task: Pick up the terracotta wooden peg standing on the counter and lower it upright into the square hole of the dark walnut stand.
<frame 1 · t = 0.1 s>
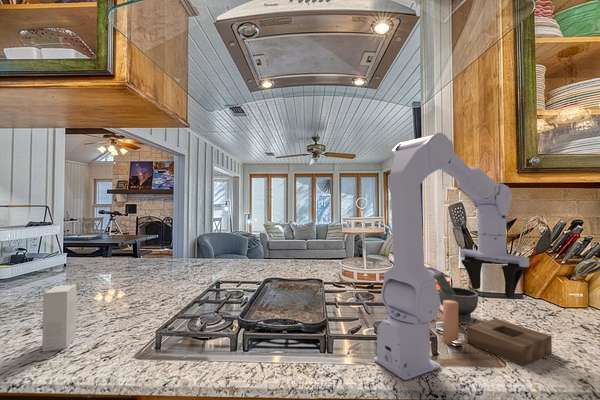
hand: (492, 292, 70), 10 cm above the worktop, tool pointing down, fingers open, 7 cm apart
walnut stand: (508, 347, 64), on the worktop
mortar and pestle: (455, 317, 82), on the worktop
peg: (450, 343, 66), on the worktop
skincare box: (59, 345, 64), on the worktop
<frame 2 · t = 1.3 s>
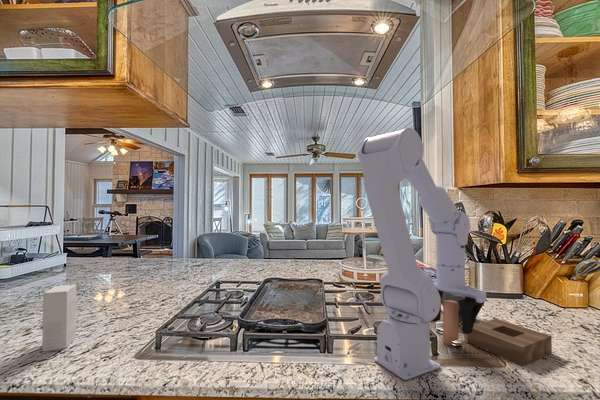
hand: (450, 326, 66), 4 cm above the worktop, tool pointing down, fingers open, 7 cm apart
nothing on the worktop moved.
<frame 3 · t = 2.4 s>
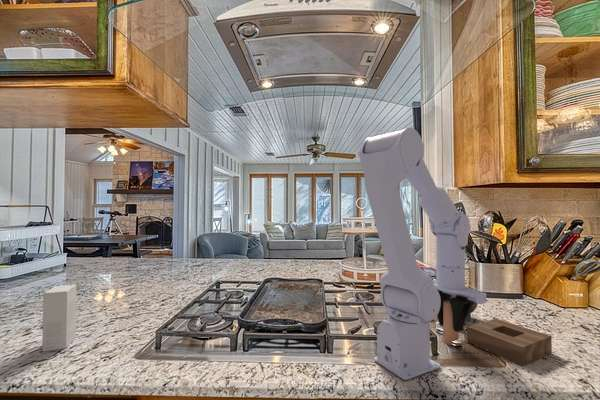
hand: (450, 327, 66), 3 cm above the worktop, tool pointing down, fingers closed on peg, 3 cm apart
peg: (450, 343, 66), on the worktop, touching gripper
everything else where it was.
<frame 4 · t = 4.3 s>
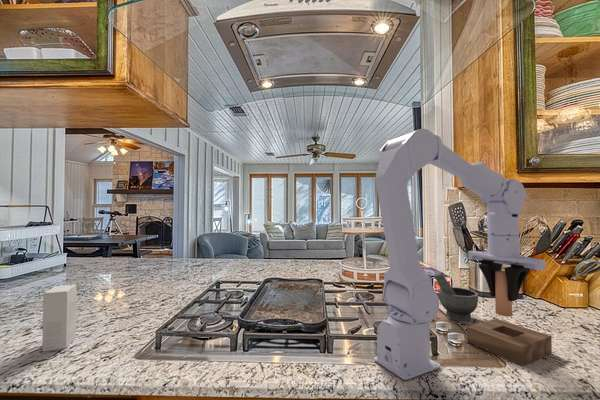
hand: (503, 298, 65), 10 cm above the worktop, tool pointing down, fingers closed on peg, 3 cm apart
peg: (503, 313, 65), point 7 cm above the worktop, touching gripper
everything else where it was.
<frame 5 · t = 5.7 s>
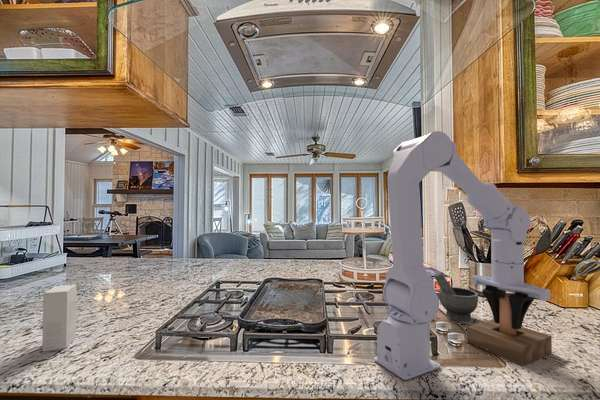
hand: (507, 325, 64), 5 cm above the worktop, tool pointing down, fingers closed on peg, 3 cm apart
peg: (507, 341, 64), point 1 cm above the worktop, touching gripper
everything else where it was.
when the fingers open (4 cm above the worktop, at t = 6.5 s): peg drops 1 cm, resting in walnut stand.
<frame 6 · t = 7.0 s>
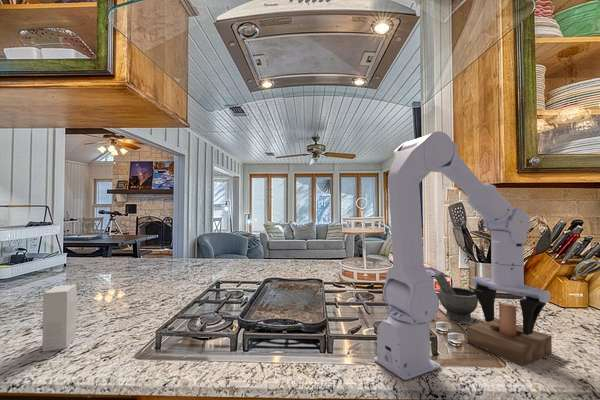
hand: (507, 326, 64), 4 cm above the worktop, tool pointing down, fingers open, 7 cm apart
peg: (507, 347, 64), resting in walnut stand
everything else where it was.
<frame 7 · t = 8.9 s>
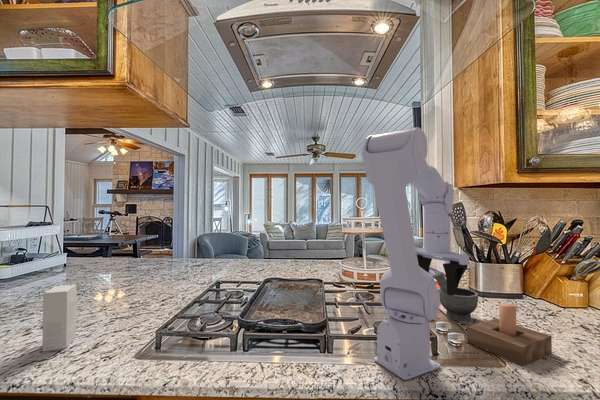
hand: (437, 290, 71), 10 cm above the worktop, tool pointing down, fingers open, 7 cm apart
nothing on the worktop moved.
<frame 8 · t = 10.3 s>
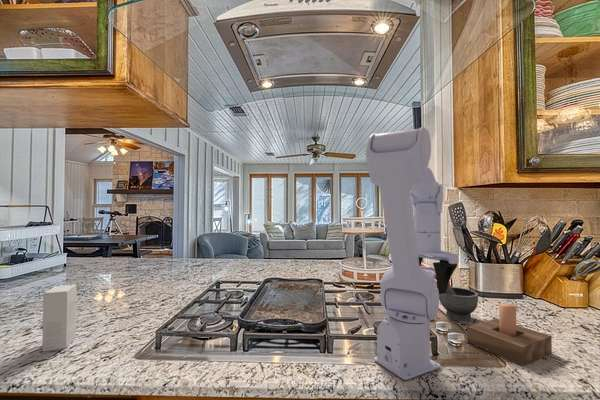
hand: (427, 289, 72), 10 cm above the worktop, tool pointing down, fingers open, 7 cm apart
nothing on the worktop moved.
at the end: peg 0.0 cm off-centre on the walnut stand, point 0.0 cm above the walnut stand's base; peg tilted 0°; the gripper is holding nothing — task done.
